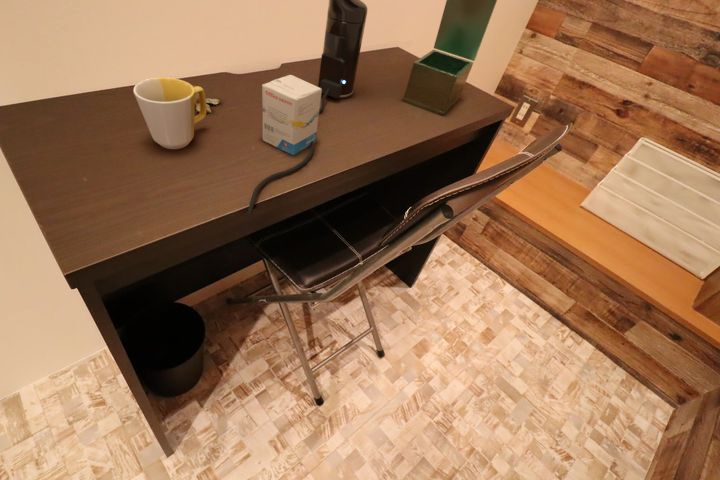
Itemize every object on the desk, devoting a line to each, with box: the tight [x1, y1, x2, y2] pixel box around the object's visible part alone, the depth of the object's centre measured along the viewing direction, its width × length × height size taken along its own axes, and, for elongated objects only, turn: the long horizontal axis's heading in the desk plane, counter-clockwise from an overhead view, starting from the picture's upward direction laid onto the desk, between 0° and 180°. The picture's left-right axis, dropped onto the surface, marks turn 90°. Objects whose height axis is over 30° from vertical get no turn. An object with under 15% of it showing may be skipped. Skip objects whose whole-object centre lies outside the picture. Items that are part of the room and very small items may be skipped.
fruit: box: [191, 84, 221, 114], centre depth 83 cm, size 8×8×4 cm
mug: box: [132, 76, 207, 150], centre depth 70 cm, size 14×10×10 cm
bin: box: [402, 49, 474, 116], centre depth 99 cm, size 15×12×10 cm
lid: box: [433, 0, 498, 62], centre depth 94 cm, size 16×12×5 cm
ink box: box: [261, 74, 322, 156], centre depth 74 cm, size 9×8×12 cm
